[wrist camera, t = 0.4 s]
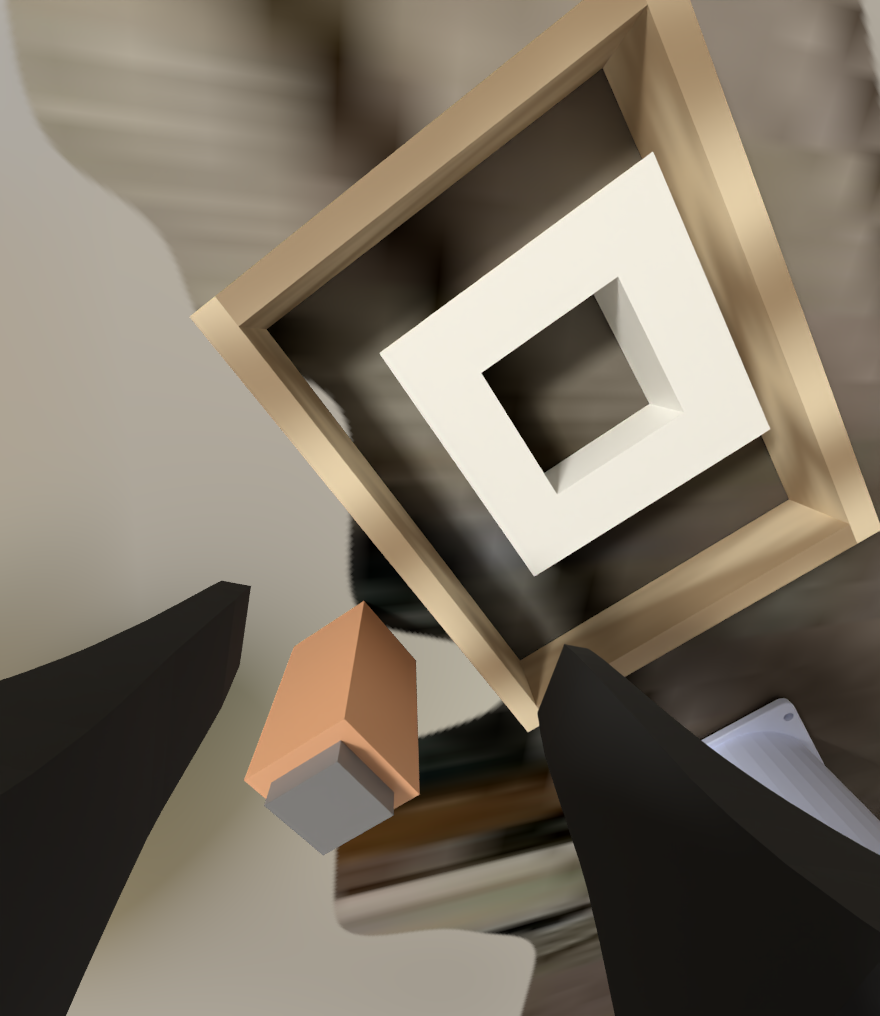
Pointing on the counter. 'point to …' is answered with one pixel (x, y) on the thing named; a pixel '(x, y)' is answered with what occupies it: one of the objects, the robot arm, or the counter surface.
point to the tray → (635, 323)
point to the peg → (341, 732)
